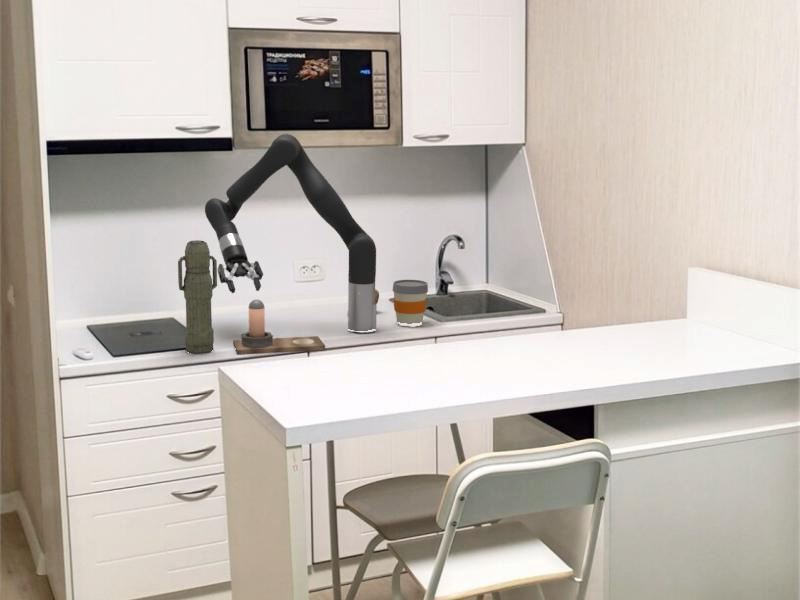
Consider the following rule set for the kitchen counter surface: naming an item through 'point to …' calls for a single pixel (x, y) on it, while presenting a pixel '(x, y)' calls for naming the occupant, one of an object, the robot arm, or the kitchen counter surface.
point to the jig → (276, 344)
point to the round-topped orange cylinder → (256, 319)
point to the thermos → (198, 296)
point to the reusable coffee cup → (410, 300)
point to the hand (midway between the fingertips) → (246, 290)
